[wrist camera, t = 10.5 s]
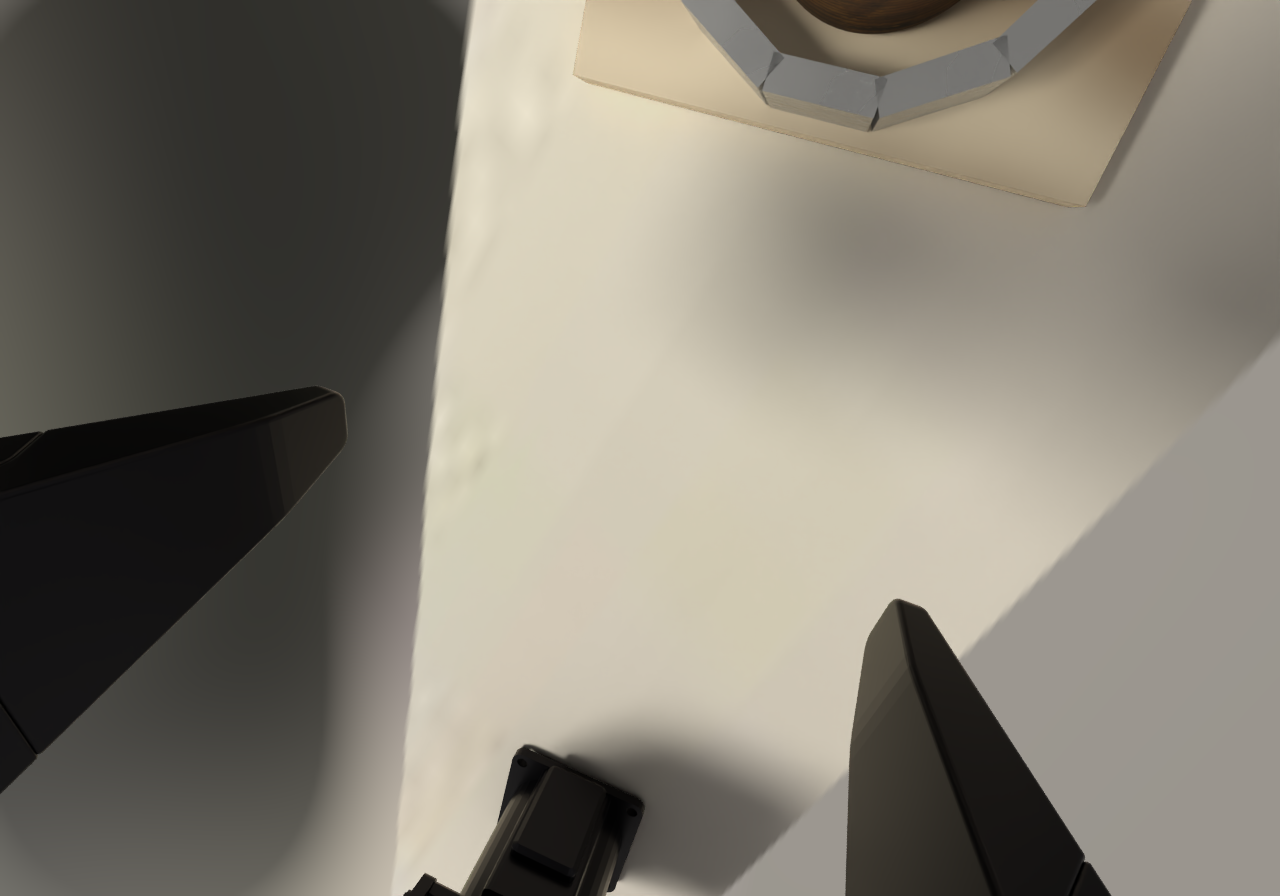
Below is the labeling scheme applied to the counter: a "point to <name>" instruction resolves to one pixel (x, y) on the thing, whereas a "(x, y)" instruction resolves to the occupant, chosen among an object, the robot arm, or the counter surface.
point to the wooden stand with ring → (904, 79)
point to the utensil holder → (875, 13)
